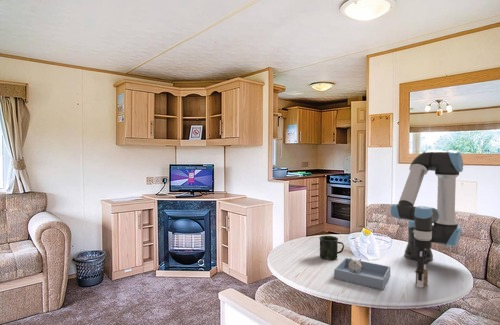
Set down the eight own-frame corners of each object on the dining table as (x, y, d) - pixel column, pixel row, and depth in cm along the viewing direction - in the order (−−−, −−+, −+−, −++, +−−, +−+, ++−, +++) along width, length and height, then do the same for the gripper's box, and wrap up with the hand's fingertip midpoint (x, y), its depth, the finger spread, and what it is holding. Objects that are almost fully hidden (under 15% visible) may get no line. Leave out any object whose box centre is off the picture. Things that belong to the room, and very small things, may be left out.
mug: (318, 253, 194) (319, 235, 194) (343, 255, 191) (343, 236, 191) (319, 260, 184) (319, 240, 183) (344, 261, 181) (344, 241, 180)
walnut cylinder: (416, 280, 155) (416, 267, 154) (427, 283, 152) (428, 269, 152) (415, 284, 151) (415, 270, 150) (426, 287, 148) (427, 272, 147)
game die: (356, 283, 160) (355, 272, 154) (343, 272, 166) (342, 261, 160) (367, 272, 163) (367, 261, 157) (354, 261, 169) (354, 251, 163)
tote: (345, 266, 173) (345, 257, 173) (390, 276, 161) (390, 266, 160) (334, 278, 158) (334, 269, 157) (382, 290, 145) (383, 280, 144)
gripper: (416, 231, 163) (415, 271, 163) (410, 243, 142) (409, 289, 143) (433, 234, 158) (431, 274, 159) (429, 246, 138) (428, 293, 139)
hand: (421, 281), depth 151 cm, fingers open, 13 cm apart
